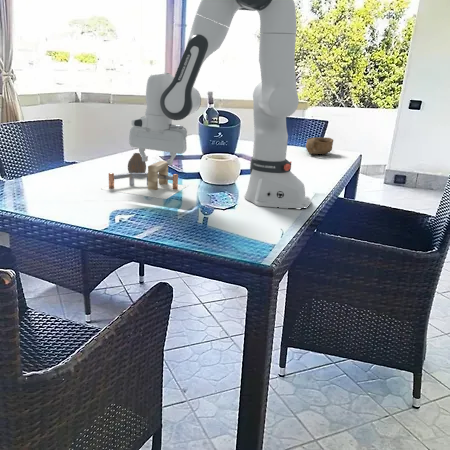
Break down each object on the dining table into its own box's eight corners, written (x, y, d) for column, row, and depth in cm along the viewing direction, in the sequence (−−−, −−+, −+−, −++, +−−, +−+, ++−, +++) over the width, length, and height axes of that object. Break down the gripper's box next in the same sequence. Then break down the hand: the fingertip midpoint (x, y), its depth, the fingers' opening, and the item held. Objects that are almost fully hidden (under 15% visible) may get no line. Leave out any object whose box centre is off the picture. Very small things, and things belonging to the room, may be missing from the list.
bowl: (330, 156, 240) (327, 136, 238) (302, 160, 246) (299, 141, 244) (337, 150, 256) (334, 131, 254) (311, 154, 262) (308, 136, 260)
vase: (142, 179, 184) (142, 156, 181) (124, 177, 185) (124, 154, 182) (148, 175, 190) (148, 152, 187) (131, 173, 191) (131, 150, 188)
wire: (176, 184, 176) (176, 171, 174) (177, 189, 170) (178, 175, 168) (109, 183, 172) (109, 169, 170) (108, 188, 166) (108, 174, 164)
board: (188, 187, 176) (188, 185, 175) (166, 201, 158) (166, 199, 158) (128, 179, 182) (128, 177, 182) (100, 191, 165) (100, 189, 165)
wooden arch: (167, 183, 177) (168, 161, 174) (155, 190, 167) (156, 167, 165) (160, 182, 177) (160, 160, 175) (147, 188, 168) (148, 166, 166)
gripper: (190, 125, 165) (188, 165, 170) (135, 118, 171) (135, 157, 175) (183, 127, 159) (181, 168, 164) (127, 120, 165) (126, 160, 169)
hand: (157, 163), depth 170 cm, fingers open, 8 cm apart
